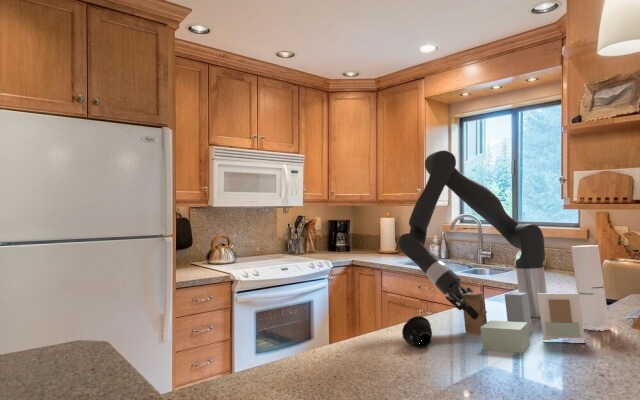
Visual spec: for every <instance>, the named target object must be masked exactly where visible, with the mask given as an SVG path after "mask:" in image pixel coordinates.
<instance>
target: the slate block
mask: <svg viewBox="0 0 640 400" xmlns="http://www.w3.org/2000/svg"><path fill="white" fill-rule="evenodd" d="M504 299H505V300H504V301H505V310H506V311H505V312H506V320H507V321H509V322H528V329H529V336H530V335H531V334H533V328H532V327H533V326H532V319H531V318H532V317H530V308H529V300H528V293H519V291H518V292H517V291H516V292H515V291H514V292H513V291H511V292H507V293H505V294H504Z"/></svg>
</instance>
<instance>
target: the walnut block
mask: <svg viewBox="0 0 640 400" xmlns="http://www.w3.org/2000/svg"><path fill="white" fill-rule="evenodd" d="M462 295H463V296H464V297H465V299H466V302H467V303H468V304H469V305H470V306H471V307H472V308H473V309H474V310H475V311H476V312H477V313H478V314H479V316H478V317H477V318H476V319H473V318H472V317H471V316H470V315H469V314H468V313H467V312H466V311H463V321H464V329H465V333H466V334H472V335H473V334H474V335H481V328H480V327H482V326H483V325H484V324H486V323H487V322H488V320H487V318H488V317H487V313H486V311H487V310H486V301H485V293H484V292H474V293H470V292H469V293H465V294H462Z"/></svg>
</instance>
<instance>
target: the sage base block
mask: <svg viewBox="0 0 640 400" xmlns="http://www.w3.org/2000/svg"><path fill="white" fill-rule="evenodd" d="M480 328H481V334H480V336H481V337H480V338H481V345H482V346H481V347H482V350H487V351H498V352H505V353H506V352H507V353H508V352H509V353H518V354H519V353H520V354H523V353H525V352H526V350H527V349H526V348H528V347H529V346H530V345H531V339H530V335H529V329H528V322H509V321H505V320H504V321H503V320H489V321H487V323H486V324H484V325H483V326H482V327H480ZM525 349H526V350H525ZM522 352H523V353H522Z"/></svg>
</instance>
